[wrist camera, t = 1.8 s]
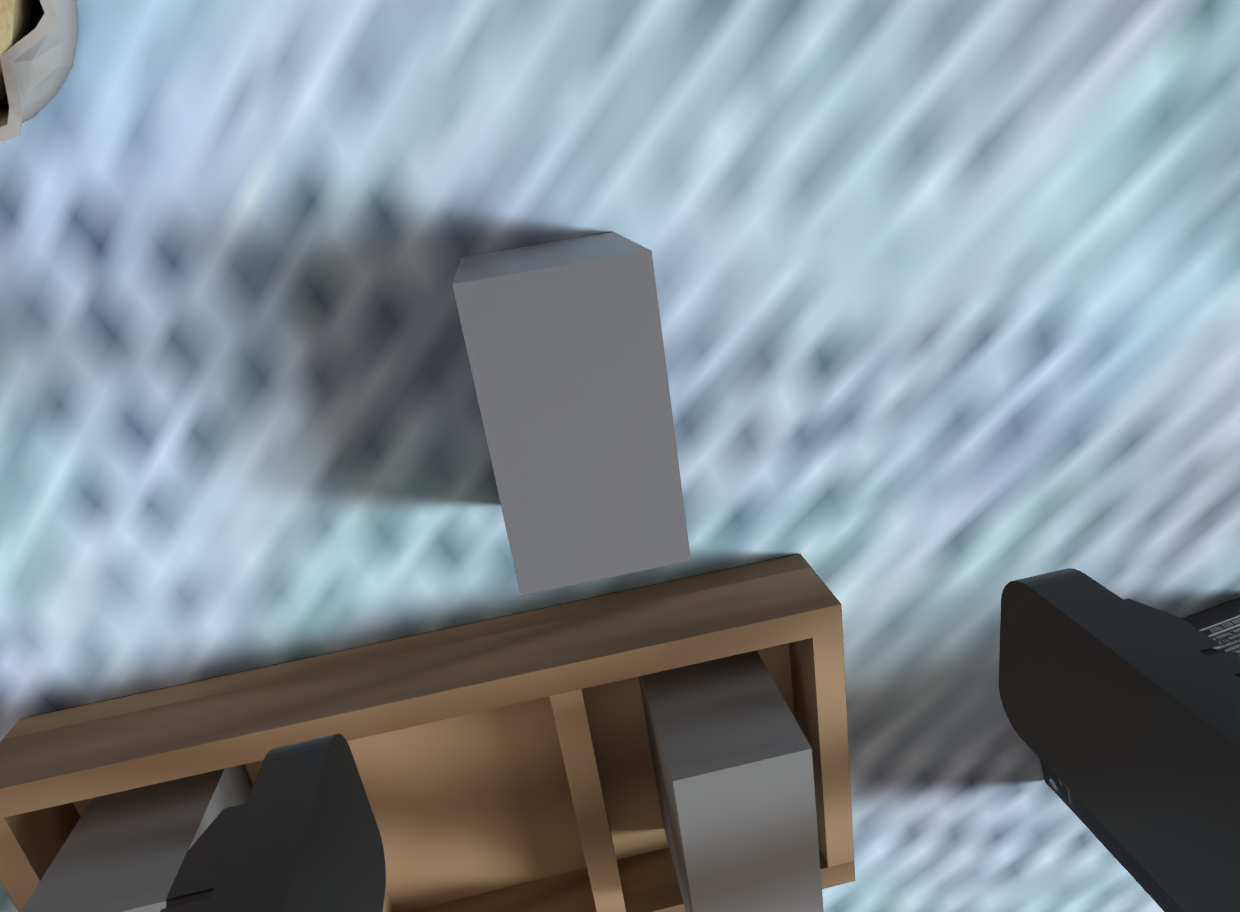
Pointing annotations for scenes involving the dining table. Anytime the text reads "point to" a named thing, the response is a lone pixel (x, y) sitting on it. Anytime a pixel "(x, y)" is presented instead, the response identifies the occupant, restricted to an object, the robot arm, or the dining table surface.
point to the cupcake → (33, 57)
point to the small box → (1236, 632)
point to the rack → (490, 759)
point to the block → (575, 407)
